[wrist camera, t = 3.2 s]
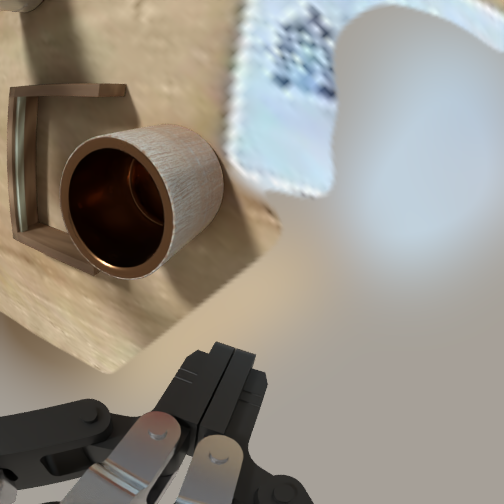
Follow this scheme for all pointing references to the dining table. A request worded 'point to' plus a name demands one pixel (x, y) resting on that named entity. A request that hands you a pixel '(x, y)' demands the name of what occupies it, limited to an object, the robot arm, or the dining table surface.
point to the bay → (24, 169)
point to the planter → (139, 197)
